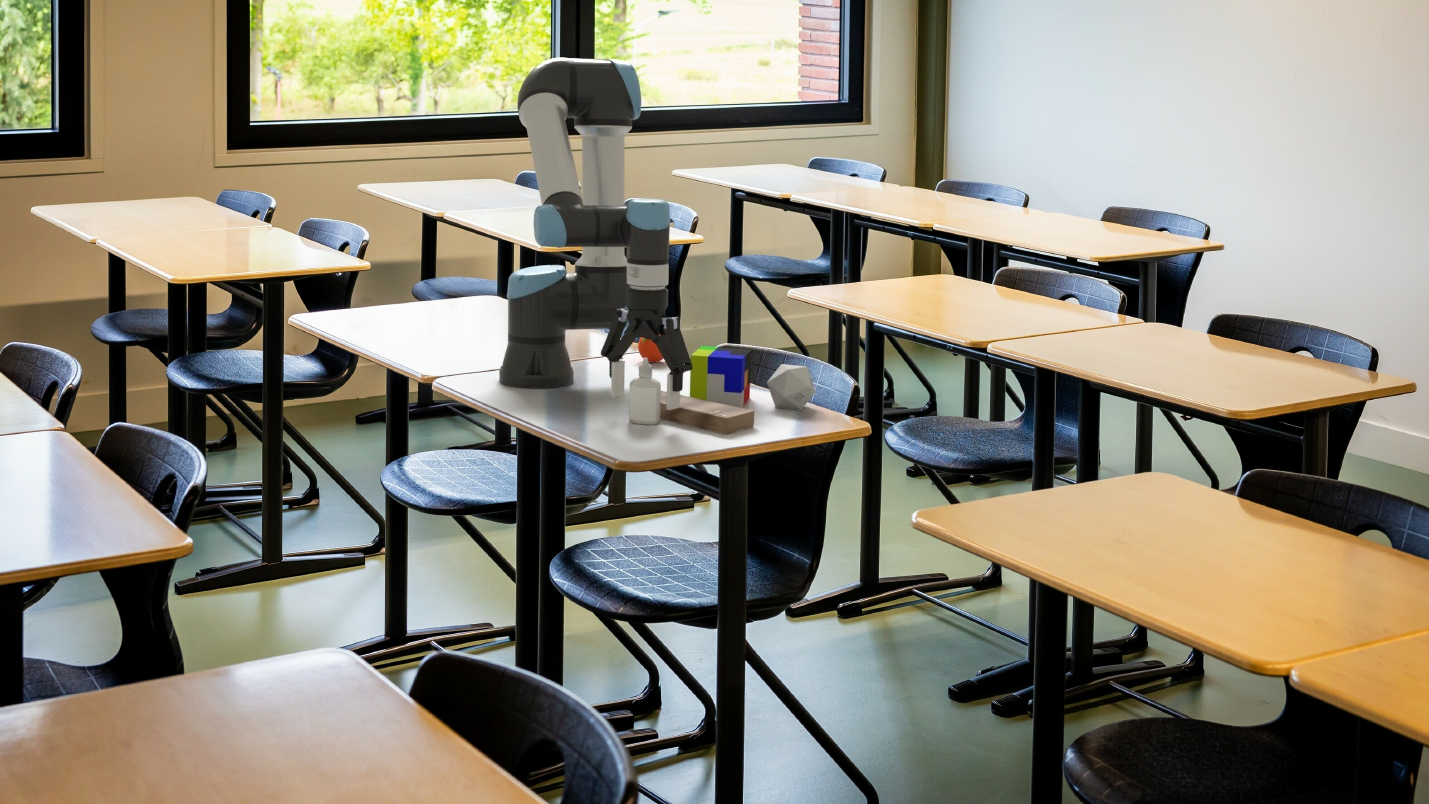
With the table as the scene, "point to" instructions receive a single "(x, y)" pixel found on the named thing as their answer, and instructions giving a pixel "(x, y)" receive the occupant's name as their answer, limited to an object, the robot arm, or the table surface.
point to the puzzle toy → (721, 375)
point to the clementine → (649, 350)
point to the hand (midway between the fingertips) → (644, 402)
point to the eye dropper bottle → (645, 397)
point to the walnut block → (707, 415)
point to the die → (791, 386)
